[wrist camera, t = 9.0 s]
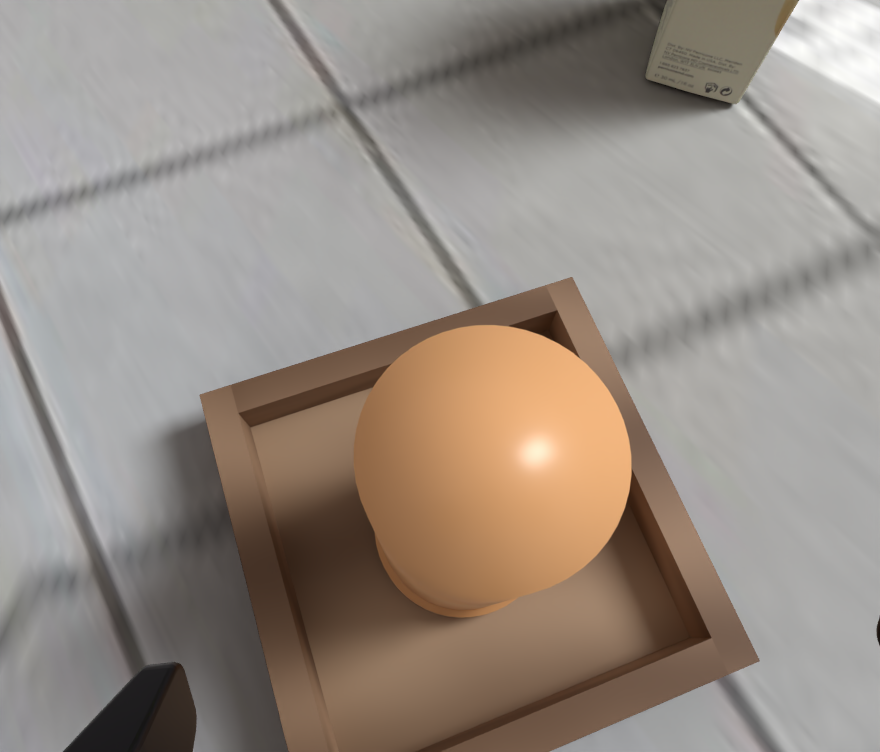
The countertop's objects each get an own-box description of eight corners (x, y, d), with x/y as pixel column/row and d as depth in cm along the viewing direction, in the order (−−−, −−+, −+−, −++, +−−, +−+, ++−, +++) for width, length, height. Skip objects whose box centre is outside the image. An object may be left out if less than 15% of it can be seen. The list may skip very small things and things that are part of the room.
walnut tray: (726, 657, 21) (760, 660, 18) (325, 827, 19) (313, 852, 17) (559, 305, 25) (572, 276, 23) (219, 415, 23) (199, 394, 21)
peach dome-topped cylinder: (578, 548, 21) (705, 484, 12) (441, 655, 20) (462, 682, 10) (476, 416, 22) (517, 267, 13) (343, 509, 21) (284, 417, 12)
